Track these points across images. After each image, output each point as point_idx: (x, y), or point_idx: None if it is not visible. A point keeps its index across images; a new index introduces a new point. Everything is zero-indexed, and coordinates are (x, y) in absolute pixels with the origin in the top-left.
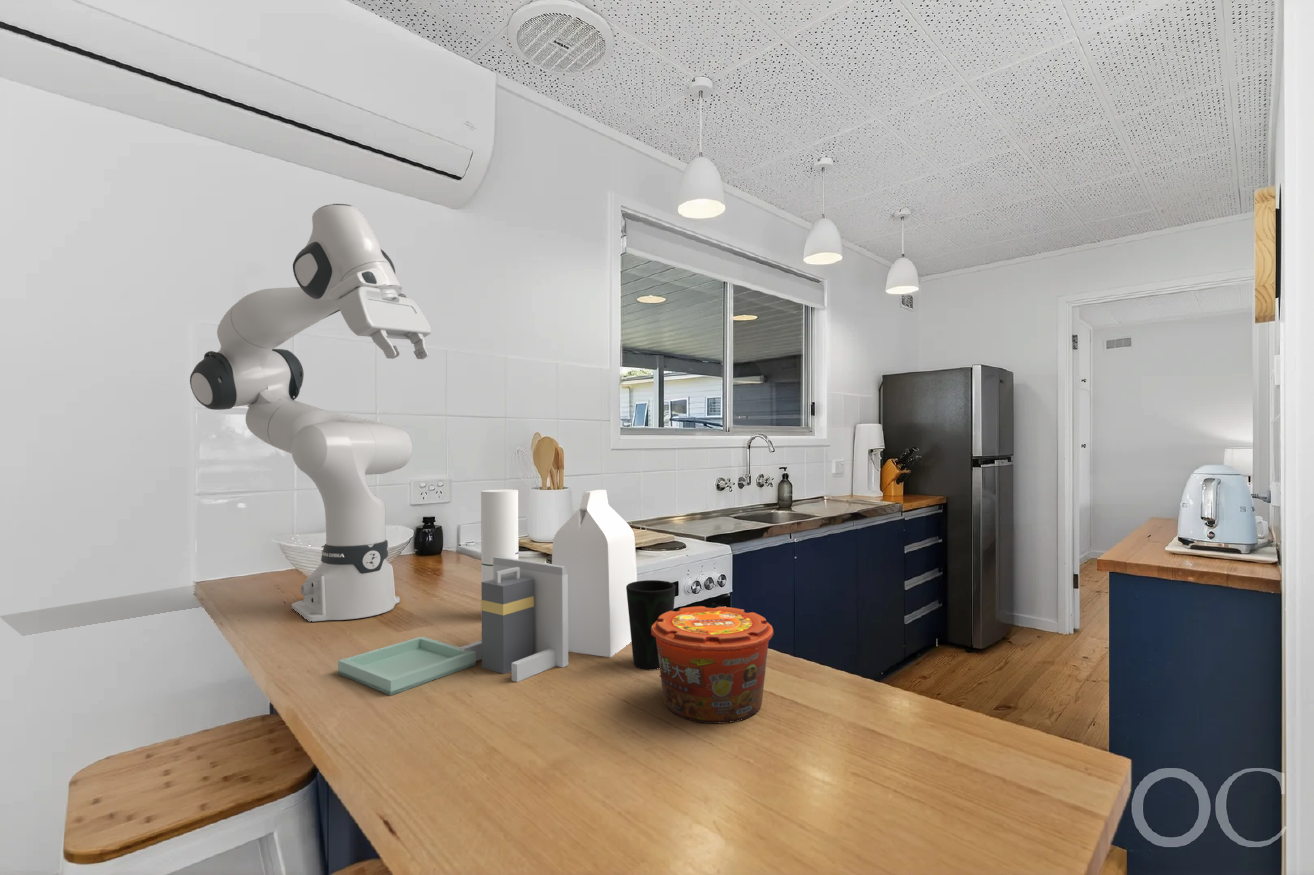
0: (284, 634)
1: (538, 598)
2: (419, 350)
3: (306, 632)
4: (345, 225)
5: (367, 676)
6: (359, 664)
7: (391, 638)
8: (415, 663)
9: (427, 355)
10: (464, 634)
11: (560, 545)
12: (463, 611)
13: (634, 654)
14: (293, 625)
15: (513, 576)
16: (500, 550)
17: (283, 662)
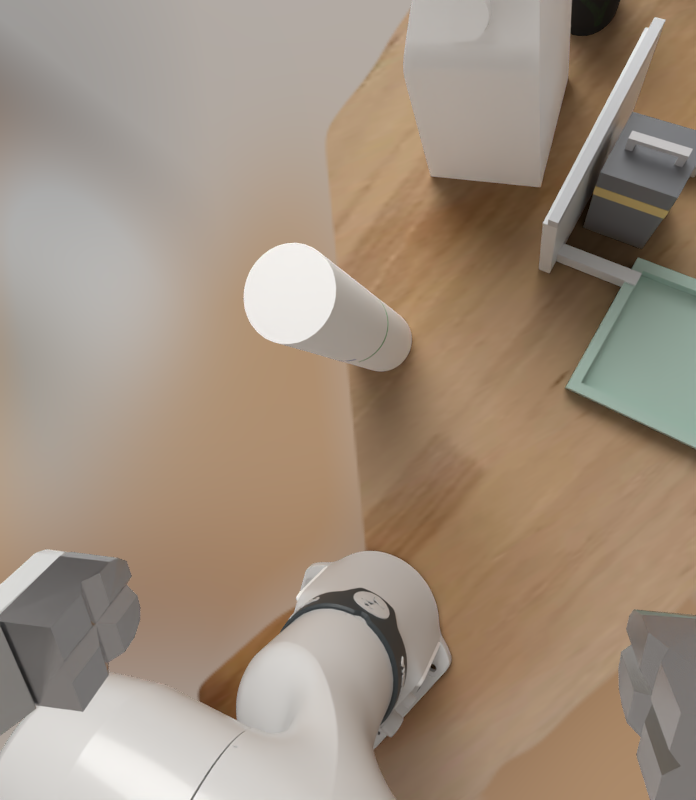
0: (522, 665)
1: (617, 126)
2: (79, 633)
3: (506, 633)
4: None
5: None
6: None
7: (520, 466)
8: (656, 351)
9: (60, 552)
10: (484, 354)
11: (544, 65)
12: (356, 419)
13: (609, 14)
14: (470, 681)
15: (612, 162)
16: (376, 302)
17: (664, 576)
